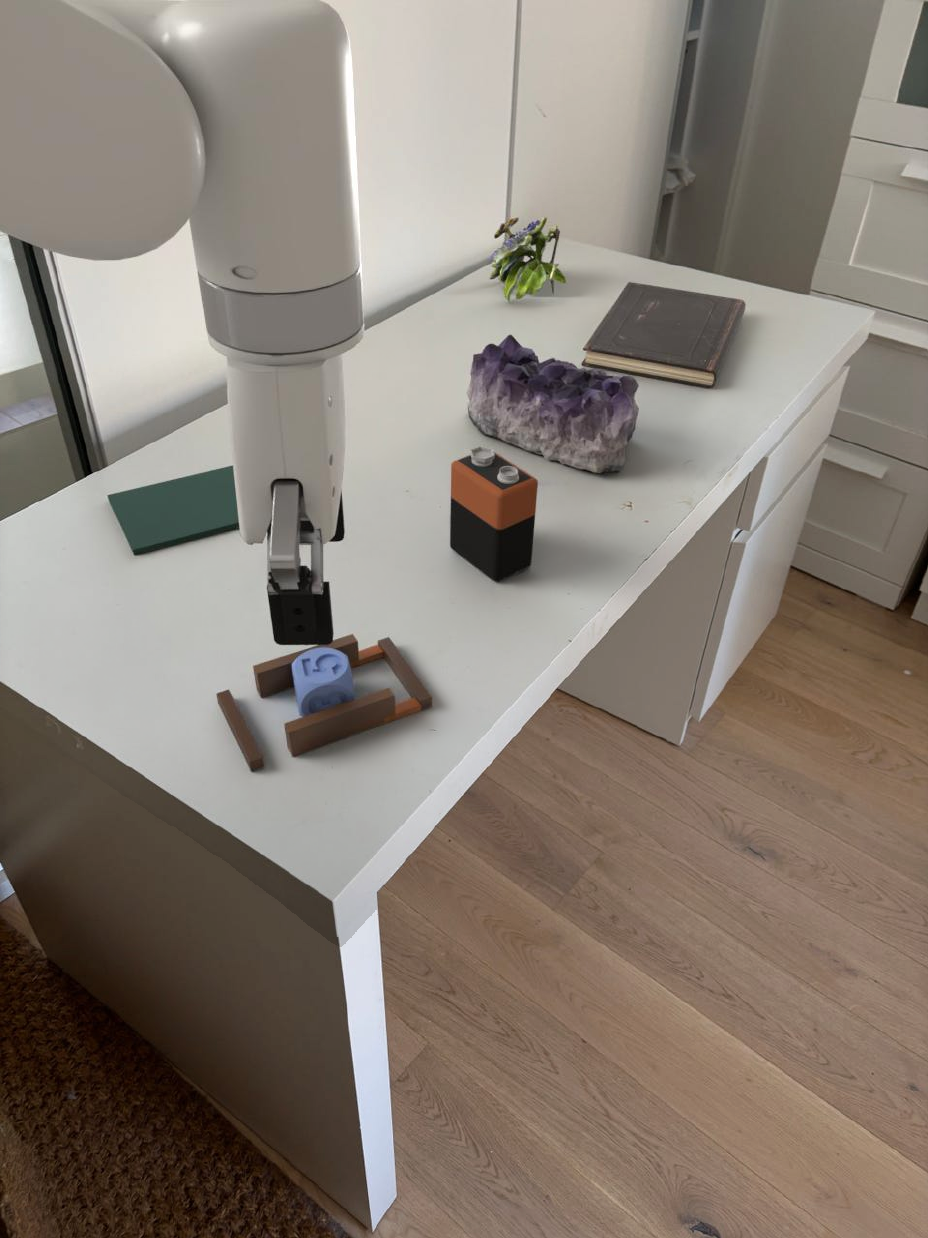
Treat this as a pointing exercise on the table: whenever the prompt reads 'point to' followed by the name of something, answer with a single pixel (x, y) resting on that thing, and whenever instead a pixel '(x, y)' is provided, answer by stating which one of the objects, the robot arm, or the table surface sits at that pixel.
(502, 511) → the battery
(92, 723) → the table surface
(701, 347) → the hardcover book
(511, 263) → the passion flower
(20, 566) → the table surface
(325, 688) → the decorative dice
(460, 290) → the table surface
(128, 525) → the mat
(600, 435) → the geode
